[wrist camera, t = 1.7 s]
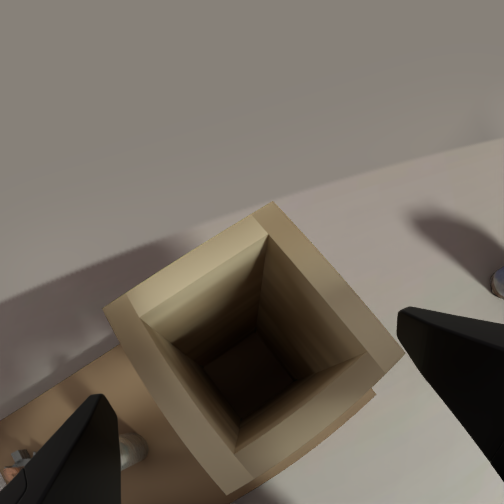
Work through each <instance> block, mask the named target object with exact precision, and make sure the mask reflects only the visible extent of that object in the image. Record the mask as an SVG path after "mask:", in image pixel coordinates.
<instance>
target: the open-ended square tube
mask: <svg viewBox="0 0 504 504" xmlns="http://www.w3.org/2000/svg"><path fill="white" fill-rule="evenodd" d="M102 309H103V311H104V313H105V315H106V317H107V319H108V321H109V323H110V325H111V327H112V329H113V331H114V333H115V335H116V337H117V339H118V340H119V342H120V344H121V346H122V348H123V350H124V351H125V353H126V355H127V357H128V358H129V360H130V362H131V364H132V365H133V367H134V369H135V370H136V372H137V374H138V375H139V377H140V379H141V380H142V382H143V384H144V385H145V387H146V388H147V390H148V392H149V393H150V395H151V396H152V398H153V399H154V401H155V402H156V404H157V405H158V407H159V408H160V410H161V411H162V413H163V414H164V416H165V417H166V419H167V420H168V422H169V423H170V425H171V426H172V427H173V429H174V430H175V432H176V433H177V434H178V436H179V437H180V438H181V440H182V441H183V443H184V444H185V445H186V447H187V448H188V449H189V450H190V452H191V453H192V454H193V456H194V457H195V458H196V460H197V461H198V462H199V463H200V465H201V466H202V467H203V468H204V469H205V471H206V472H207V473H208V474H209V476H210V477H211V478H212V479H213V480H214V482H215V483H216V484H217V485H218V486H219V487H220V488H221V490H222V491H223V492H224V493H225V494H226V495H228V494H230V493H232V492H233V491H235V490H237V489H239V488H240V487H242V486H244V485H245V484H247V483H249V482H250V481H252V480H253V479H255V478H257V477H258V476H260V475H261V474H263V473H264V472H266V471H267V470H269V469H270V468H272V467H273V466H275V465H276V464H278V463H279V462H281V461H282V460H284V459H285V458H286V457H288V456H289V455H291V454H292V453H293V452H295V451H296V450H298V449H299V448H300V447H302V446H303V445H304V444H306V443H307V442H308V441H310V440H311V439H312V438H313V437H315V436H316V435H317V434H319V433H320V432H321V431H322V430H324V429H325V428H326V427H327V426H329V425H330V424H331V423H332V422H333V421H335V420H336V419H337V418H338V417H339V416H341V415H342V414H343V413H344V412H345V411H346V410H348V409H349V408H350V407H351V406H352V405H353V404H354V403H355V402H357V401H358V400H359V399H360V398H361V397H362V396H363V395H364V394H365V393H366V392H367V391H369V390H370V389H371V388H372V387H373V386H374V385H375V384H376V383H377V382H378V381H379V380H380V379H381V378H382V377H383V376H384V375H385V374H386V373H387V372H388V371H389V370H390V369H391V368H392V367H393V366H394V365H395V364H396V363H397V362H398V361H399V360H400V359H401V358H402V357H403V356H404V354H405V352H404V351H403V349H402V348H401V347H400V346H399V344H398V343H397V342H396V341H395V339H394V338H393V337H392V336H391V335H390V333H389V332H388V331H387V330H386V328H385V327H384V326H383V325H382V324H381V322H380V321H379V320H378V319H377V318H376V316H375V315H374V314H373V313H372V312H371V310H370V309H369V308H368V307H367V306H366V305H365V303H364V302H363V301H362V300H361V299H360V297H359V296H358V295H357V294H356V293H355V292H354V290H353V289H352V288H351V287H350V286H349V285H348V284H347V282H346V281H345V280H344V279H343V278H342V277H341V275H340V274H339V273H338V272H337V271H336V270H335V269H334V268H333V266H332V265H331V264H330V263H329V262H328V261H327V260H326V258H325V257H324V256H323V255H322V254H321V253H320V252H319V251H318V250H317V248H316V247H315V246H314V245H313V244H312V243H311V242H310V241H309V240H308V238H307V237H306V236H305V235H304V234H303V233H302V232H301V231H300V230H299V229H298V227H297V226H296V225H295V224H294V223H293V222H292V221H291V220H290V219H289V218H288V217H287V216H286V214H285V213H284V212H283V211H282V210H281V209H280V208H279V207H278V206H277V205H276V204H275V203H274V202H273V201H272V202H270V203H269V204H267V205H265V206H264V207H262V208H260V209H259V210H257V211H255V212H254V213H252V214H250V215H249V216H247V217H245V218H244V219H242V220H240V221H239V222H237V223H236V224H234V225H232V226H231V227H229V228H227V229H226V230H224V231H222V232H221V233H219V234H218V235H216V236H214V237H213V238H211V239H209V240H208V241H206V242H205V243H203V244H201V245H200V246H198V247H197V248H195V249H193V250H192V251H190V252H189V253H187V254H185V255H184V256H182V257H181V258H179V259H178V260H176V261H174V262H173V263H171V264H170V265H168V266H167V267H165V268H163V269H162V270H160V271H159V272H157V273H156V274H154V275H152V276H151V277H149V278H148V279H146V280H145V281H143V282H142V283H140V284H139V285H137V286H135V287H134V288H132V289H131V290H129V291H128V292H126V293H125V294H123V295H122V296H120V297H119V298H117V299H116V300H114V301H113V302H111V303H110V304H108V305H107V306H105V307H104V308H102ZM254 332H255V333H257V335H258V336H259V337H260V338H261V340H262V341H263V342H264V344H265V345H266V346H267V347H268V349H269V350H270V351H271V353H272V354H273V355H274V356H275V358H276V359H277V360H278V361H279V363H280V364H281V365H282V367H283V368H284V369H285V370H286V372H287V373H288V374H289V375H290V377H291V378H292V379H293V382H292V383H291V384H290V385H289V386H287V387H286V388H285V389H283V390H282V391H281V392H279V393H278V394H277V395H275V396H274V397H272V398H271V399H270V400H268V401H267V402H265V403H264V404H263V405H261V406H260V407H258V408H257V409H256V410H254V411H253V412H251V413H250V414H248V415H247V416H245V417H244V418H240V417H239V416H238V414H237V413H236V412H235V410H234V409H233V408H232V407H231V405H230V404H229V403H228V401H227V400H226V399H225V397H224V396H223V395H222V393H221V392H220V391H219V389H218V388H217V387H216V385H215V384H214V382H213V381H212V380H211V378H210V377H209V375H208V374H207V373H206V371H205V370H204V367H205V366H206V365H208V364H209V363H211V362H212V361H214V360H215V359H217V358H218V357H219V356H221V355H222V354H224V353H225V352H227V351H228V350H230V349H231V348H233V347H234V346H236V345H237V344H238V343H240V342H241V341H243V340H244V339H246V338H247V337H248V336H250V335H251V334H253V333H254Z"/></svg>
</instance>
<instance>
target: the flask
mask: <svg viewBox="0 0 504 504" xmlns="http://www.w3.org/2000/svg"><path fill="white" fill-rule="evenodd" d="M492 278H493V279H492ZM491 281H492V284H491ZM490 284H491V287H492V293H494V294H495V295H497V296H498V297H499V298H502V299H504V267H502V268H501V269H499V270H497V271H496V272H495V273H494V274H493V276H491V279H490Z"/></svg>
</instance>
